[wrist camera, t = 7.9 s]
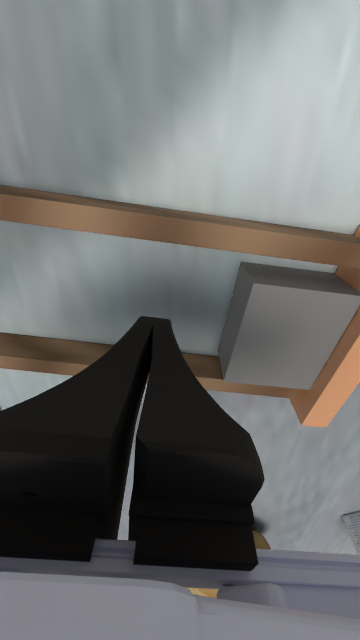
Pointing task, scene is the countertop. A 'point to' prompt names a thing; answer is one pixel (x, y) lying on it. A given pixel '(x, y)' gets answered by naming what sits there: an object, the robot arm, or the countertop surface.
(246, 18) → the countertop surface
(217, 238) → the rail lane
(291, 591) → the robot arm
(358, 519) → the medicine box
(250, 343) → the block
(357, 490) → the countertop surface
